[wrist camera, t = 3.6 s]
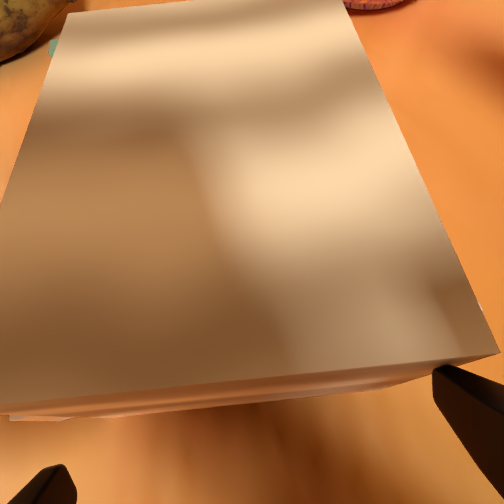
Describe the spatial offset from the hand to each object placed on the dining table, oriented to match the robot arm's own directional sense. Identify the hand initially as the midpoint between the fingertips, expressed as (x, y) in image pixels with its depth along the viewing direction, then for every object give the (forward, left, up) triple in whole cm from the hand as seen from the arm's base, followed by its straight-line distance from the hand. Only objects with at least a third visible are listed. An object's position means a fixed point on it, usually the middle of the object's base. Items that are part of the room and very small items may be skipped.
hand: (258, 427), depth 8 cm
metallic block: (+9, 0, -7) cm, 11 cm away
